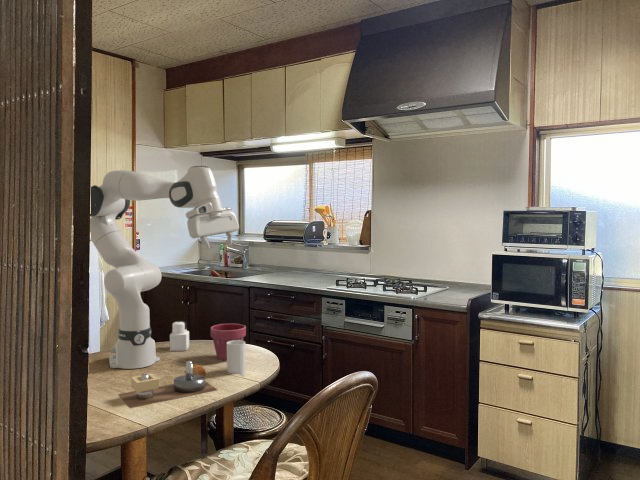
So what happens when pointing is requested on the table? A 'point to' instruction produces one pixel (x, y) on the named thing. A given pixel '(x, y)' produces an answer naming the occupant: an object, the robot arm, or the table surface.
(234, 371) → the mug
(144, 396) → the silver knob
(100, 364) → the table surface
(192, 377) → the hub
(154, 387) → the collar
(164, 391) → the base board
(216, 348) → the plant pot
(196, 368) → the pastry
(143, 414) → the table surface
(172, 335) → the medicine bottle
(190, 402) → the table surface
